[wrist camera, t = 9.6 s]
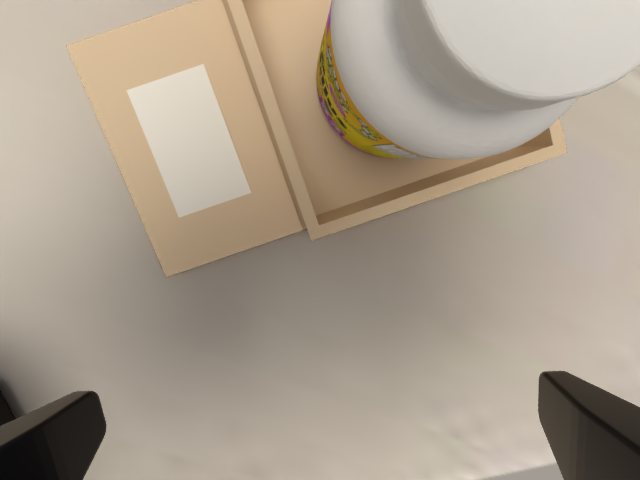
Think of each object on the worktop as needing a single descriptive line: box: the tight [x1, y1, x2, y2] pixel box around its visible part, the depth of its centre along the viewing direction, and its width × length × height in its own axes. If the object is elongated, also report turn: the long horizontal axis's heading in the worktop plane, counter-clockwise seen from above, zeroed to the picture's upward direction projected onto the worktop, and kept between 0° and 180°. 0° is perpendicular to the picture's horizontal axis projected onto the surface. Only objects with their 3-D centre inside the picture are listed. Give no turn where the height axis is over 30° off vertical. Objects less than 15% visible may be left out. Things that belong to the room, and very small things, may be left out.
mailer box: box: [67, 0, 567, 277], centre depth 18 cm, size 18×11×4 cm, turn 109°
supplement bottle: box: [316, 0, 640, 159], centre depth 13 cm, size 7×7×13 cm
